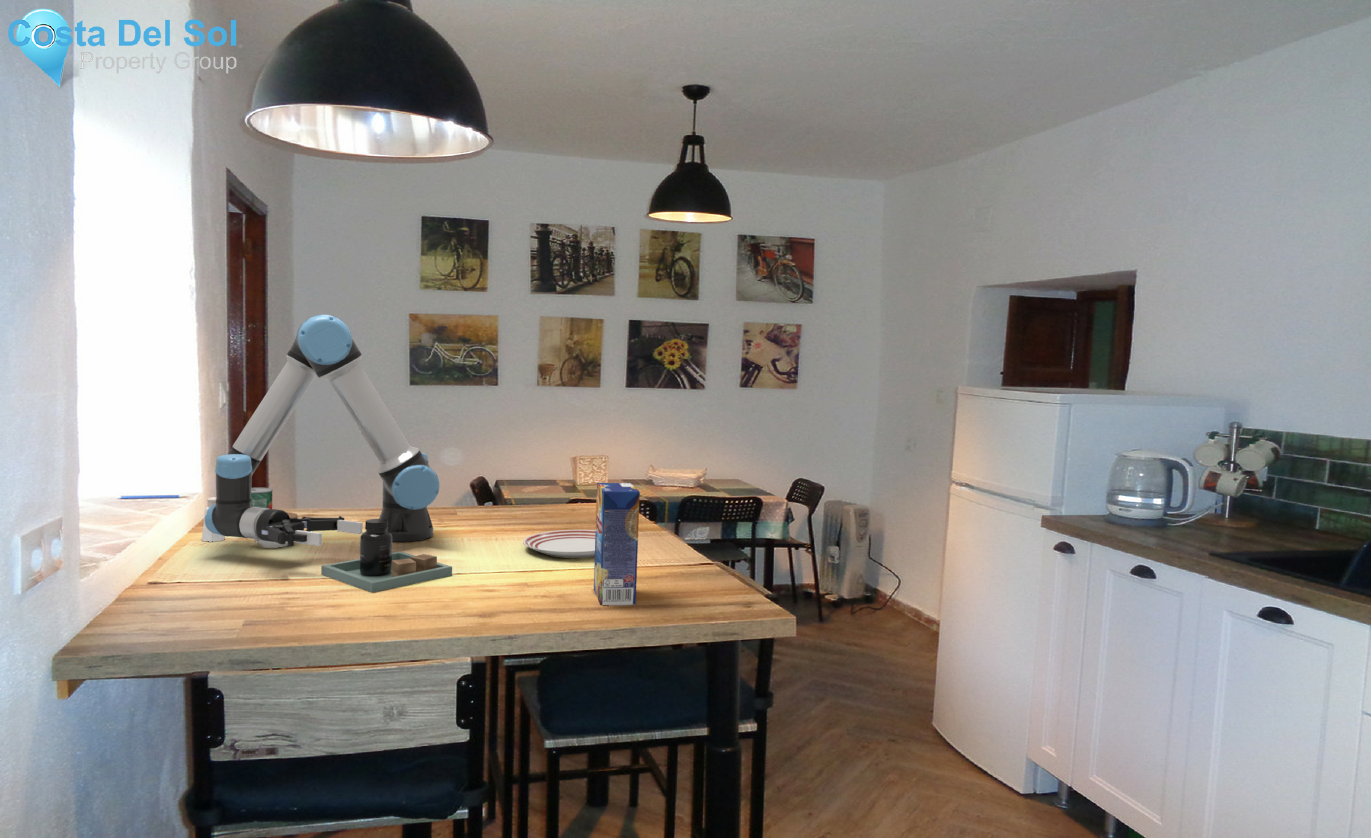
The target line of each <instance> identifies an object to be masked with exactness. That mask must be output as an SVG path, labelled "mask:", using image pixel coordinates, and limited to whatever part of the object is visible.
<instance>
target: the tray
mask: <svg viewBox="0 0 1371 838" xmlns="http://www.w3.org/2000/svg"><path fill="white" fill-rule="evenodd" d="M414 556H415V555H414V554H410V553H408V552H403V551H400V550H399V551H396V552H392V560H400V559H409V558H410V559H411V557H414ZM320 569H321V574H320V575H321V576H324V577H327V578H329V579H332V580H335V581H338V582H339V583H340V582H341V583H343V584H346V585H349V586H352V587H355V588H358V589H360V590H363V591H366V592H369V593H371V594H374V593H377V592H382V591H387V590H392V589H396V588H401V587H406V586H410V585H415V584H419V583H424V582H429V581H433V580H438V579H442V578H447V577H451V576H453V566H452V565H449V564H444V563H440V562H438V561H437V568H435V569H430V570H425V571H420V572H416V573H411V574H406V575H401V576H396V577H392V570H391V572H390V573H389V574H387V575H383V576H365V575H362V574H361V573H360V558H357V559H352V560H346V561H344V560H343V561H340V562H333V563H328V564H324V565H323V564H322V565H321V568H320Z"/></svg>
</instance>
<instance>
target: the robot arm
mask: <svg viewBox="0 0 1371 838" xmlns="http://www.w3.org/2000/svg"><path fill="white" fill-rule="evenodd" d="M285 356H286V363H285V364H284V366H283V367H282V369H281V371H280V372H279V373H278V375H277V377H276V378H275V380H274V382H273V383H272V385H271V386H270V388H269V389H268V390H267V392H266V394H265V395H264V397H263V399H262V400H261V402H259V404H258V406H257V408H256V409H255V411H254V412H253V414H252V415H251V417H250V418H249V420H248V422H247V423H246V424H245V426H244V427H243V428H242V431H241V432H240V434H239V436H238V437H237V439H236V440H235V442H234V443H233V445H232V447H231V449H229V451H228V452H227V454H222V455H219V456H217V458H216V461H215V462H216V464H215V471H214V472H215V495H216V504H214V505H212V506H211V507H210V508H209V509H208V510H207V514H206V516H205V525H206V527H207V529H208V530H209V531H210V532H212V533H214V534H219V535H223V536H225V537H232V538H233V537H234V538H241V539H243V538H244V539H250V540H251V539H253V540H254V542H256V543H258V541H259V540H264V541H270V542H277V543H279V544H285V541H287V542H288V545H287V546H288V547H294V546H295V544H302V545H308V546H309V545H311V546H317V547H320V546H321V547H322V545H323V532H324V531H327V532H328V531H329V532H330V531H337V532H338V533H340V532H341V533H347V534H354V535H355V534H356V535H362V534H363V522H362V521H352V520H346V519H345V517H342V516H341V515H339V516H338V517H312V516H311V517H310V516H309V517H308V516H302V517H301V518H299V517H298V518H290V517H289V515H288V514H287V513H286V512H287V511H285V510H283V509H277V510H276V508H274V509H273V508H272V509H269V508H259V507H251V488H252V486H253V485H252V481H253V480H252V479H253V478H252V477H253V474H254V473H255V471H256V470H257V469H258V467H259V465H260V463H261V462H262V460H263V459H264V457H265V455H266V454H267V453H268V451H269V449H270V448H271V446H272V445H273V444H274V441H275V440H276V438H277V437H278V436H279V433H280V432H281V430H282V429H283V428H284V426H285V424H286V423H287V422H288V420H289V418H290V417H291V415H292V413H293V412H294V411H295V409H296V408H297V406H298V405H299V403H300V401H301V400H302V398H303V396H305V394H306V392H307V390H309V387H310V385H312V382H313V381H314V380H315V378H316V377H318V379H320V380H323V381H326V382H328V383H329V384H330V386H331V388H332V389H333V391H334V392H335V394H336V396H337V398H338V399H339V400H340V403H341V404H342V405H343V407H344V409H345V410H346V412H347V414H348V415H349V417H350V418H351V420H352V421H353V423H354V424H355V426H356V428H357V429H358V431H359V433H360V435H362V437H363V439H364V441H365V442H366V445H367V446H368V447H369V448H370V450H371V452H372V453H373V455H374V456H375V458H376V460H377V461H378V468H377V473H378V475H379V476H380V479H382V506H381V507H382V508H381V512H380V515H379V518H378V519H386V520H388V529H387V531H389V532H390V533H391V534H392V542H396V543H397V542H399V543H402V542H403V543H404V542H415V541H423V540H428V539H430V538H433V536H434V526H433V523H432V520H431V517H430V513H429V510H428V506H429V505H431V504H432V503H433V502H434V501H435V500H436V499H437V497H438V494H439V491H440V480H439V476H438V475H437V473H436V472H435V471H434V469H432V467H430V464H429V462H430V461H429V457H428V454H427V453H426V452H421V450H420V448H419V447H414V446H411V445H410V443H409V441H408V440H407V439H406V437H405V435H404V434H403V432H402V430H401V428H400V427H399V425H398V424H397V422H396V420H395V419H394V417H393V415H392V414H391V413H390V410H389V409H388V407H387V406H386V404H385V403H384V401H383V399H382V397H381V396H380V394H379V392H378V391H377V389H376V388H375V386H374V384H373V383H372V381H371V380H370V378H369V376H368V375H367V373H366V371H365V370H364V368H363V367H362V359H363V353H362V352H361V351H360V349H359V347H358V346H357V343H356V342H355V340H354V339H353V336H352V332H351V331H350V328H349V327H348V326H347V324H346V323H344V322H343V321H342V319H339V318H338V317H336V316H333V315H330V314H318V315H317V314H316V315H313V316H311V317H309V318H308V319H307V320H305V321H304V322H303V323H301V325H300V327H299V328H298V330H297V333H296V336H295V338H294V340H293V343H292V345H291V346H290V348H289V350H288V352H287V354H286V355H285ZM305 529H306V530H305ZM321 531H322V532H321ZM429 537H430V538H429ZM427 538H428V539H427ZM294 543H295V544H294Z"/></svg>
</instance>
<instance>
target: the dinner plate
mask: <svg viewBox="0 0 1371 838" xmlns="http://www.w3.org/2000/svg"><path fill="white" fill-rule="evenodd" d="M595 533H596V529H595V530H594V529H564V530H563V529H562V530H551V531H544V532H539V533H535V534H531V535H529V536H527V537H525V538H523V540H522V545H525V546H526V547H527V548H529V549H531V550H534V551H536V552H539V553H542V554H544V553H545V555H547V554H548V555H547V556H550V555H551V556H550V557H556V558H562V557H566V558H565V559H586V558H585V557H590V558H595Z"/></svg>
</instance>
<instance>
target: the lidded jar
mask: <svg viewBox="0 0 1371 838" xmlns="http://www.w3.org/2000/svg"><path fill="white" fill-rule="evenodd" d="M275 509H276V508H275ZM276 510H278V509H276ZM285 512H286V513H287V514H288V515H289V517H290V518H299V517H298V514H297V513H294V512H289V511H285ZM257 543H258V544H259V545H260V546H261V548H263V547H269V548H268V549H279V548H278V547H281V548H284V547H287V546H288V542H287V541H285V544H279V543H277V542H270V541H264V540H259V541H258V542H257Z"/></svg>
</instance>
